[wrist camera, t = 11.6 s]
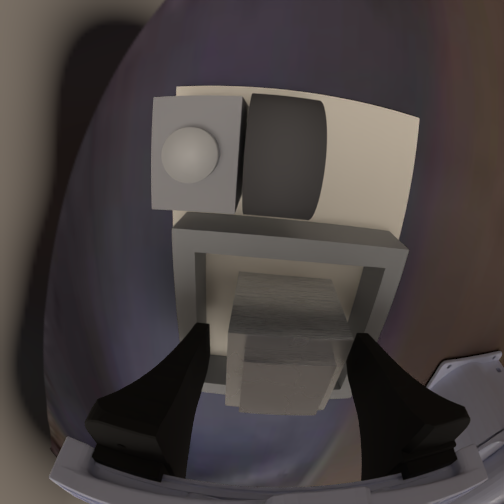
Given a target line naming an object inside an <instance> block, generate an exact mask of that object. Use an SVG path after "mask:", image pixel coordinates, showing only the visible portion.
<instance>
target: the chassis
mask: <svg viewBox="0 0 504 504" xmlns="http://www.w3.org/2000/svg"><path fill="white" fill-rule="evenodd" d="M252 93H257V94H270V95H281V96H290V97H298V98H306V99H313V100H320V101H321V102H322V103H323V105H324V108H325V113H326V121H327V152H326V163H325V171H324V178H323V184H322V189H321V193H320V197H319V201H318V204H317V208H316V210H315V213H314V215H313V217H312V218H311V219H310V220H301V219H290V218H280V217H269V216H257V215H245V214H243V212H242V185H243V166H244V151H245V139H246V129H247V120H248V112H249V105H250V100H251V95H252ZM418 128H419V118H417V117H414V116H411V115H408V114H404V113H401V112H397V111H394V110H390V109H387V108H383V107H379V106H375V105H371V104H366V103H362V102H358V101H353V100H348V99H343V98H338V97H332V96H326V95H320V94H314V93H307V92H300V91H291V90H282V89H272V88H259V87H241V86H182V87H177V90H176V96H168V97H154V101H153V118H152V145H151V194H152V209H160V210H173V227H172V249H173V269H174V284H175V297H176V309H177V320H178V330H179V339H180V342H181V341H182V340H183V339H184V337H185V336H186V335H187V334H188V333H189V331H190V330H191V329H192V327H193V326H194V324H195V323H197V322H199V323H207V324H210V359H209V365H208V371H207V374H206V378H205V381H204V384H203V388H202V391H201V392H208V393H216V394H225V395H226V369H227V342H228V329H229V324H230V318H231V313H232V307H233V301H234V296H235V291H236V285H237V280H238V274H239V271H242V272H252V273H263V274H274V275H286V276H297V277H309V278H321V279H331V280H332V283H333V285H334V288H335V291H336V293H337V296H338V298H339V301H340V304H341V306H342V309H343V312H344V314H345V317H346V320H347V322H348V325H349V328H350V331H351V334H352V336H353V339H355V336H356V334H357V333H368V334H369V335H370V336H371V337H372V338H373V339H374V340H375V341H376V342H377V340H378V338H379V335H380V333H381V331H382V328H383V326H384V323H385V321H386V318H387V315H388V313H389V310H390V307H391V305H392V302H393V299H394V296H395V293H396V290H397V287H398V284H399V281H400V278H401V275H402V272H403V269H404V266H405V262H406V259H407V255H408V252H409V249H408V248H407V247H406V246H405V245H403V244H402V243H401V242H400V241H399V237H400V233H401V229H402V224H403V220H404V216H405V211H406V206H407V201H408V196H409V191H410V186H411V180H412V174H413V168H414V161H415V154H416V146H417V138H418ZM353 342H354V341H353ZM352 344H353V343H352ZM351 347H352V346H351ZM350 350H351V349H350ZM349 352H350V351H349ZM348 355H349V354H348ZM347 357H348V356H347ZM346 360H347V359H346ZM351 395H352V392H351V388H350V384H349V380H348V375H347V367H346V361H345V363H344V366H343V368H342V371H341V373H340V375H339V378H338V380H337V382H336V384H335V387H334V389H333V391H332V393H331V395H330V397H329V399H341V398H350V397H351Z"/></svg>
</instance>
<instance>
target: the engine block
mask: <svg viewBox="0 0 504 504" xmlns="http://www.w3.org/2000/svg"><path fill="white" fill-rule="evenodd" d="M353 341H354V339H353V336H352V334H351V331H350V328H349V325H348V322H347V320H346V317H345V314H344V312H343V309H342V306H341V304H340V301H339V298H338V296H337V293H336V291H335V288H334V285H333V283H332V280H331V279H321V278H309V277H297V276H286V275H274V274H263V273H252V272H242V271H239V274H238V280H237V285H236V291H235V296H234V301H233V307H232V313H231V318H230V324H229V329H228V342H227V369H226V400H225V405H228V406H238V407H239V412H244V413H257V414H274V415H316V413H317V410H324V408H325V406H326V404H327V402H328V400H329V397H330V395H331V393H332V391H333V389H334V387H335V384H336V382H337V380H338V378H339V375H340V373H341V371H342V368H343V366H344V363H345V361H346V359H347V356H348V354H349V351H350V349H351V346H352V343H353Z"/></svg>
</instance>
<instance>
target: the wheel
mask: <svg viewBox="0 0 504 504" xmlns="http://www.w3.org/2000/svg"><path fill="white" fill-rule="evenodd" d="M326 152H327V121H326V113H325V108H324V105H323V103H322V102H321V101H320V100H313V99H306V98H298V97H290V96H281V95H270V94H257V93H252V95H251V100H250V105H249V112H248V120H247V129H246V139H245V151H244V166H243V185H242V212H243V214H245V215H257V216H269V217H280V218H290V219H301V220H310V219H311V218H312V217H313V215H314V213H315V210H316V208H317V204H318V201H319V197H320V193H321V189H322V184H323V178H324V171H325V163H326Z"/></svg>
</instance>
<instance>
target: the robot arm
mask: <svg viewBox="0 0 504 504" xmlns="http://www.w3.org/2000/svg"><path fill="white" fill-rule="evenodd" d="M501 356H502V352H501V351H497V352H492V353H487V354H482V355H477V356H471V357H465V358H459V359H453V360H446V361H443V362H442V363H441V364H440V366H439V367H438V369H437V370H436V372H435V374H434V375H433V377H432V378H431V380H430V381H429V383H428V384H427V386H426V387H425V386H423V385H422V384H421V383H419V382H418V381H417V380H415V379H414V378H413V377H412V376H410V375H409V374H408V373H407V372H406V371H405V370H403V369H402V368H401V367H400V366H399V365H398V364H397V363H396V362H395V361H394V360H393V359H392V358H391V357H390V356H389V355H388V354H387V353H386V352H385V351H384V350H383V349H382V347H381V346H380V345H379V344H378V343H377V342H376V341H375V340H374V339H373V338H372V337H371V336H370V335H369V334H368V333H357V334H356V336H355V339H354V342H353V344H352V347H351V350H350V352H349V355H348V357H347V360H346V367H347V375H348V380H349V384H350V388H351V392H352V395H353V399H354V403H355V407H356V410H357V414H358V419H359V427H360V436H361V450H362V476H361V481H358V482H352V483H344V484H336V485H326V486H313V487H287V488H273V487H247V486H234V485H224V484H215V483H208V482H201V481H195V480H189V479H185V477H186V468H187V460H188V453H189V446H190V439H191V433H192V427H193V421H194V416H195V412H196V408H197V404H198V401H199V398H200V394H201V391H202V388H203V384H204V381H205V378H206V374H207V371H208V365H209V359H210V324H207V323H199V322H197V323H195V324H194V326H193V327H192V329H191V330H190V331H189V333H188V334H187V335H186V336H185V337H184V339H183V340H182V341H181V342H180V343H179V344H178V345H177V347H176V348H175V349H174V350H173V351H172V352H171V353H170V354H169V355H168V356H167V357H166V358H165V359H164V360H163V361H161V362H160V363H159V364H158V365H157V366H156V367H154V368H153V369H152V370H151V371H149V372H148V373H147V374H145V375H144V376H142V377H141V378H140V379H138V380H136V381H135V382H133V383H131V384H130V385H128V386H126V387H124V388H122V389H121V390H119V391H117V392H114V393H112V394H109V395H107V396H105V397H102V398H99V399H97V401H96V403H95V404H94V405H93V407H92V409H91V411H90V413H89V415H88V417H87V419H86V421H85V427H86V429H87V430H88V432H89V433H90V435H91V436H92V437H93V439H94V440H95V441H96V443H97V445H96V447H95V449H94V448H93V447H91V446H89V445H87V444H85V443H83V442H80V441H78V440H75V439H73V438H71V437H67V438H66V440H65V442H64V444H63V446H62V448H61V451H60V453H59V455H58V457H57V459H56V461H55V464H54V466H53V468H52V470H51V473H50V475H49V478H50V479H51V480H52V481H53V482H55V483H56V484H57V485H59V486H60V487H61V488H63V489H64V490H66V491H67V492H68V493H70V494H71V495H73V496H75V497H77V498H79V499H81V500H83V501H85V502H87V503H90V504H504V367H503V366H502V364H501V363H500V362H499V359H500V357H501Z"/></svg>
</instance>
